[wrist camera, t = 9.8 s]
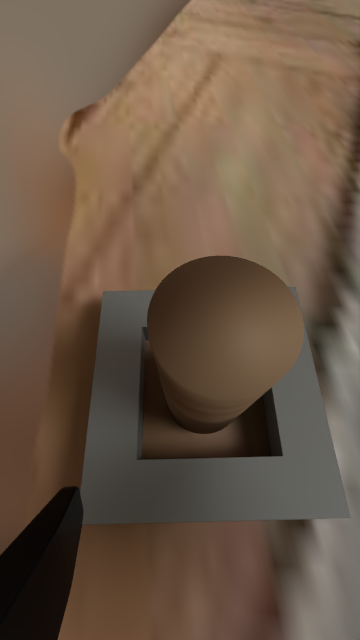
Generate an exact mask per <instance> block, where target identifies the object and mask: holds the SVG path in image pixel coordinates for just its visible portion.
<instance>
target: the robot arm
mask: <svg viewBox="0 0 360 640" xmlns="http://www.w3.org/2000/svg"><path fill="white" fill-rule="evenodd" d="M83 513H84V511H83V504H82V500H81V495H80V491H79V488H78V487H77V486H72V487H64V488H62V489H61V490H60V491H59V492H58V493H57V494H56V495H55V496H54V497H53V498H52V499H51V501H50V502H49V503H48V504H47V505H46V506H45V507H44V508H43V509H42V510H41V511H40V513H39V514H38V515H37V516H36V517H35V518H34V519H33V520H32V521H31V522H30V523H29V525H28V526H27V527H26V528H25V529H24V530H23V531H22V532H21V533H20V534H19V536H18V537H17V538H16V539H15V540H14V541H13V542H12V543H11V544H10V545H9V546H8V548H7V549H6V550H5V551H4V552H3V553H2V554H1V555H0V640H57V639H58V636H59V632H60V628H61V624H62V620H63V617H64V613H65V609H66V605H67V601H68V598H69V593H70V589H71V585H72V580H73V575H74V569H75V563H76V557H77V551H78V545H79V539H80V534H81V528H82V522H83Z"/></svg>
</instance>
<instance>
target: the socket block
mask: <svg viewBox="0 0 360 640" xmlns="http://www.w3.org/2000/svg"><path fill="white" fill-rule="evenodd" d="M288 288H289V289H290V290H291V292H292V294H293V295H294V297H295V298H296V300H297V302H298V305H299V307H300V304H299V299H298V295H297V291H296V287H288ZM154 292H155V290H148V291H105V292H103V297H102V306H101V314H100V323H99V332H98V341H97V350H96V358H95V367H94V376H93V385H92V394H91V402H90V411H89V420H88V429H87V438H86V447H85V455H84V464H83V473H82V482H81V491H80V495H81V500H82V504H83V511H84V513H83V522H82V525H93V524H132V523H171V522H209V521H248V520H287V519H326V518H351V517H350V513H349V509H348V505H347V501H346V496H345V492H344V488H343V484H342V480H341V475H340V471H339V467H338V463H337V459H336V455H335V450H334V446H333V442H332V438H331V434H330V429H329V425H328V421H327V417H326V413H325V408H324V404H323V400H322V396H321V392H320V387H319V383H318V379H317V375H316V371H315V367H314V362H313V358H312V354H311V350H310V346H309V341H308V337H307V333H306V329H305V325H304V338H303V344H302V348H301V351H300V354H299V356H298V358H297V360H296V362H295V363H294V365H293V366H292V368H291V369H290V370H289V371H288V373H287V374H286V375H285V376H284V377H283V378H282V379H280V380H279V381H278V382H277V383H276V384H275V385H274V386H272V387H271V388H270V389H269V390H268V391H267V392H265V393H264V394H263V402H264V409H265V415H266V422H267V429H268V436H269V442H270V449H271V456H272V457H235V458H195V459H155V460H142V436H143V406H144V376H145V346H146V340H149V336H148V331H147V313H148V308H149V304H150V301H151V298H152V296H153V294H154ZM300 310H301V308H300ZM301 313H302V312H301ZM302 317H303V316H302ZM303 323H304V320H303Z"/></svg>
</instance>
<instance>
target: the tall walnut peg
mask: <svg viewBox="0 0 360 640" xmlns="http://www.w3.org/2000/svg"><path fill="white" fill-rule="evenodd" d="M147 331H148V336H149V340H150V344H151V348H152V351H153V355H154V358H155V362H156V366H157V369H158V373H159V377H160V380H161V384H162V388H163V391H164V395H165V398H166V402H167V406H168V408H169V411H170V413H171V415H172V416H173V418H174V419H175V420H176V421H177V423H179V424H180V425H181V426H182V427H184V428H185V429H187V430H189V431H192V432H195V433H200V434H209V433H214V432H217V431H220V430H222V429H223V428H225V427H226V426H227V425H229V424H230V423H231V422H232V421H233V420H234V419H236V418H237V417H238V416H239V415H240V414H241V413H243V412H244V411H245V410H246V409H247V408H248V407H249V406H251V405H252V404H253V403H254V402H255V401H256V400H257V399H259V398H260V397H261V396H262V395H263V394H264V393H265V392H267V391H268V390H269V389H270V388H271V387H272V386H274V385H275V384H276V383H277V382H278V381H279V380H280V379H282V378H283V377H284V376H285V375H286V374H287V373H288V371H289V370H290V369H291V368H292V366H293V365H294V363H295V362H296V360H297V358H298V356H299V354H300V351H301V348H302V344H303V338H304V323H303V317H302V313H301V310H300V307H299V305H298V302H297V300H296V298H295V297H294V295H293V294H292V292H291V290H290V289H289V288H288V287H287V286H286V284H285V283H284V282H283V281H282V280H281V279H280V278H279V277H278V276H276V275H275V274H274V273H272V272H271V271H269V270H268V269H266V268H265V267H263V266H261V265H259V264H257V263H254V262H252V261H249V260H246V259H242V258H238V257H231V256H209V257H204V258H199V259H196V260H192V261H190V262H188V263H185V264H183V265H181V266H180V267H178V268H176V269H175V270H174V271H172V272H171V273H170V274H168V275H167V276H166V277H165V278H164V279H163V280H162V282H161V283H160V284H159V286H158V287H157V288H156V290H155V292H154V294H153V296H152V298H151V301H150V304H149V308H148V313H147Z"/></svg>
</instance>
